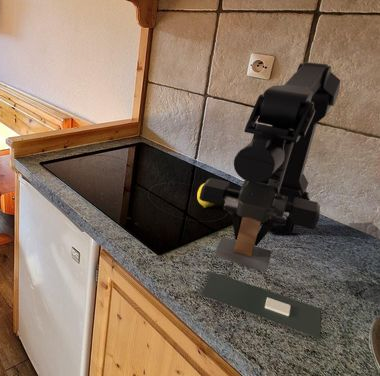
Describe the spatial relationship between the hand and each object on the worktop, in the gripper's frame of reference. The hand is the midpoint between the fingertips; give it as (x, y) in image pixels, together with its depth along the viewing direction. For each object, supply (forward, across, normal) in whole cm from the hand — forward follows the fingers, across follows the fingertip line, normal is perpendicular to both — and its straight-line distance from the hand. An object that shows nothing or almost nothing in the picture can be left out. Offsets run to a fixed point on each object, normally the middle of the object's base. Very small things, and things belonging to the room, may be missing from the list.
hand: (246, 241), depth 76 cm
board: (+12, +5, -1) cm, 13 cm away
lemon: (+12, -13, +35) cm, 39 cm away
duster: (+4, 0, 0) cm, 4 cm away
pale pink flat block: (+11, +8, -1) cm, 14 cm away
